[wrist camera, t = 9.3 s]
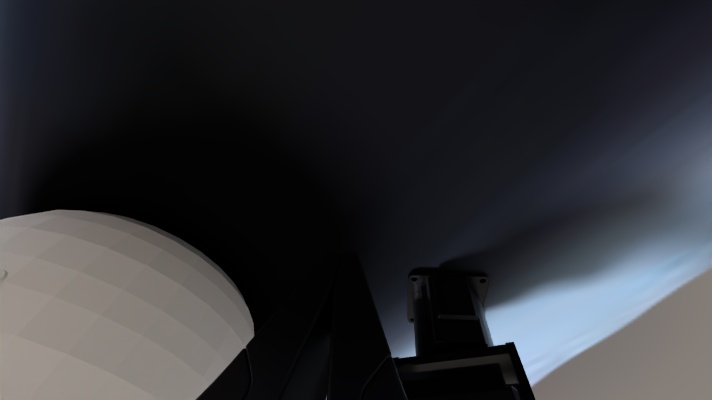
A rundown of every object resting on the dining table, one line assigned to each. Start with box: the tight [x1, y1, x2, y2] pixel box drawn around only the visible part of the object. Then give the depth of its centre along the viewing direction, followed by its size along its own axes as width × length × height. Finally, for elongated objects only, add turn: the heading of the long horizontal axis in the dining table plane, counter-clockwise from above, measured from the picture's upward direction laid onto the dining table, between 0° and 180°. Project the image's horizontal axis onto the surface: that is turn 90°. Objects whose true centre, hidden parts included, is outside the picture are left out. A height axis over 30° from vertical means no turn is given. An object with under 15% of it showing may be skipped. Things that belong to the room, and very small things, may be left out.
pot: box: [0, 210, 254, 400], centre depth 24 cm, size 29×26×17 cm
